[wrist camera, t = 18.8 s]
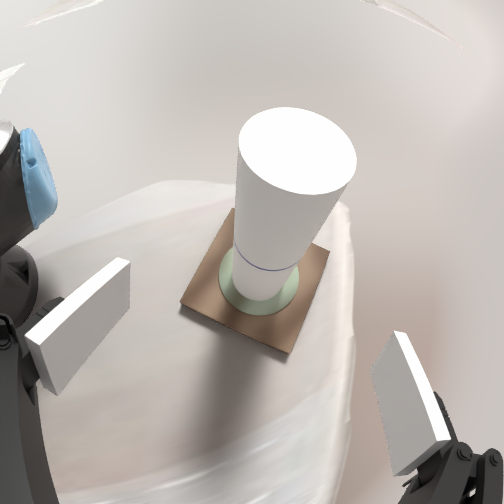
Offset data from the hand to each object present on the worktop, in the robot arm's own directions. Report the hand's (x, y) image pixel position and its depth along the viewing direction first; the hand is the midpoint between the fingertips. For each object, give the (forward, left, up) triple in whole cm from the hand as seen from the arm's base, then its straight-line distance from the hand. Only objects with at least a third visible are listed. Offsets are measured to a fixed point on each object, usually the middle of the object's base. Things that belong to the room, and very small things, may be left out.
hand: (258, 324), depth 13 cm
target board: (-2, +10, -26) cm, 28 cm away
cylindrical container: (-2, +10, -24) cm, 26 cm away
